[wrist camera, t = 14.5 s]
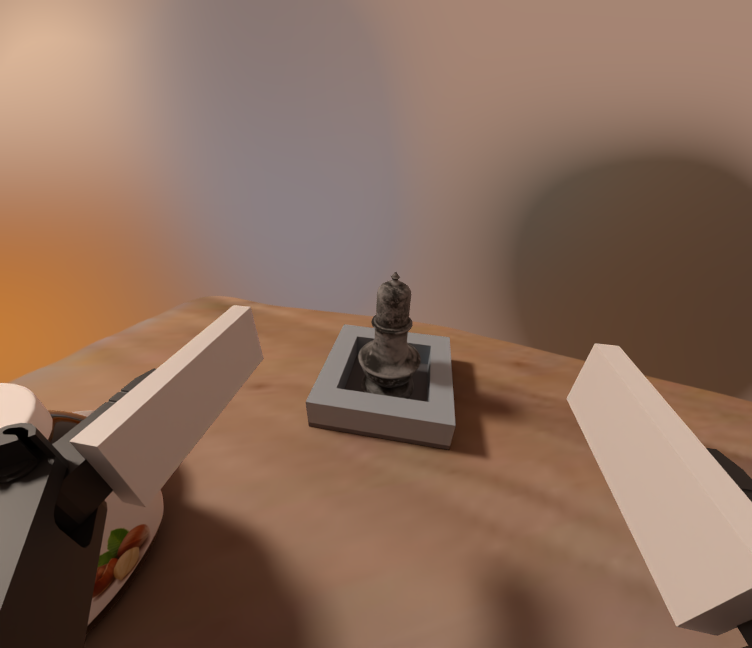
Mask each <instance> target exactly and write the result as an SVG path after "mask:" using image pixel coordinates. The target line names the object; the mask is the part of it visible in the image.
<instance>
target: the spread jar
mask: <svg viewBox="0 0 752 648" xmlns="http://www.w3.org/2000/svg"><path fill="white" fill-rule="evenodd" d="M93 412H94V411H78V412H65V411H54V410H47V409H46V408H45V406H44V405H43V404H42V403H41V402H40V400H39V399H38V398H37V397H36V395H35V394H34V393H33V392H32V391H30V390H29V389H28V388H26V387H23V386H20V385H16V384H6V383H0V428H2V427H4V426H7V425H12V424H17V423H31V424H32V425H34V426H35V427H36V428H37V429H38V430H39V431H40V432H41V433H42V434H43V435H44V436H45V438H46V439H47V440H48V441H49V442H50V443H51V444H53V443H55V442H56V441H58V440H59V439H60V438H61V437H63V436H64V435H65V434H66V433H68V432H69V431H70V430H71V429H73V428H74V427H75V426H76V425H78V424H79V423H80V422H81V421H83V420H84V419H85V418H86V417H88V416H89V415H90V414H91V413H93ZM105 501H106V502H107V509H108V510H107V516H106V521H105V527H104V533H103V539H102V545H101V550H100V556H99V562H98V568H97V573H96V579H95V585H94V591H93V597H92V602H91V608H90V614H89V620H88V625H87V631H86V634H87V633H88V632H89V631H90V630H92V629H93V628H94V627H95V626H96V625H97V624H98V622H99V621H100V620H101V619H102V618H103V617H104V616H105V615H106V614H107V613H108V612H109V611H110V610H111V608H112V607H113V606H114V605H115V604H116V602H117V601H118V600H119V599H120V598H121V596H122V595H123V593H124V592H125V591H126V589H127V588H128V587H129V585H130V584H131V582H132V581H133V579H134V578H135V576H136V575H137V573H138V571H139V570H140V568H141V566H142V565H143V563H144V561H145V559H146V557H147V555H148V553H149V551H150V549H151V547H152V544H153V542H154V540H155V538H156V536H157V533H158V531H159V528H160V524H161V520H162V516H163V510H164V504H163V496H162V492H161V490H160V491H159V492H158V493H157V494H156V496H155V497H154V498H153V499H152V501H151V502H150V503H149V505H148V506H147V507H142V506H138V505H133V504H129V503H124V502H122V501H121V500H120V499H119V497H118V496H117V495H116V494H115V493H114V492H113V491H112V492H111V493H110V494H109V496H108V497H107V498H106V499H105Z"/></svg>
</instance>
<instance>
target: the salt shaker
mask: <svg viewBox="0 0 752 648" xmlns="http://www.w3.org/2000/svg"><path fill="white" fill-rule="evenodd" d="M391 277H392V279H393V280H391V281H388V282H385V283H383V284H382V285H381V286H380V287H379V288H378V292H377V310H376V315H375V316H374V317H373V318H372V326H373V327H374V328H375V338H374V340H373V341H371V342H369V343H367V344H366V345H364V346H363V347H362V348H361V350H360V351H359V355H358V359H359V363H360V365H361V366H362V369H363V371H364V373H365V375H364V376H363V378H362V381H361V386H362V390H363V392H365V393H372V394H378V395H385V396H392V397H398V398H405V399H408V398H409V397H410V395H411V394H412V392H413V390H414V383H413V380H412V376H413V375H414V373H415V371H416V370H417V369H418V368H419V366H420V363H421V357H420V354H419V352H418V351H417V350H416V349H415V348H414V347H413V346H412V345H410V344H409V343H407V337H408V331H409V330H410V329H411V327H412V320H411V319H410V318H409V310H410V301H411V291H410V289H409V287H408V286H407V285H406V284H404V283H403V282H400V281H398V279H399V278H400V277H399V276H398V274H397V273H396V272H395V273H394V274H393V275H392V276H391Z"/></svg>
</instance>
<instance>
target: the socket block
mask: <svg viewBox="0 0 752 648" xmlns="http://www.w3.org/2000/svg"><path fill="white" fill-rule="evenodd" d="M374 338H375V328H368V327H360V326H352V325H344V326H343V328H342V330H341V332H340V334H339V336H338V338H337V340H336V342H335V344H334V346H333V348H332V350H331V352H330V354H329V356H328V358H327V360H326V362H325V364H324V366H323V368H322V370H321V372H320V374H319V376H318V378H317V380H316V382H315V384H314V386H313V388H312V390H311V392H310V394H309V396H308V398H307V400H306V408H307V415H308V423H309V426H312V427H318V428H323V429H329V430H335V431H341V432H347V433H353V434H359V435H365V436H371V437H377V438H382V439H388V440H394V441H400V442H406V443H412V444H418V445H424V446H430V447H435V448H441V449H447V450H449V448H450V444H451V441H452V437H453V433H454V430H455V426H456V425H455V411H454V396H453V381H452V366H451V352H450V337H442V336H434V335H425V334H417V333H409V332H408V337H407V343H409V344H410V345H412V346H413V347H414V348H415V349H416V350H417V351H418V352H419V354H420V357H421V363H420V366H419V368H418V369H417V370H416V371H415V373H414V375H413V376H412V380H413V383H414V390H413V392H412V394H411V395H410V397H409V398H408V399H405V398H398V397H392V396H385V395H378V394H372V393H365V392H363V390H362V386H361V381H362V378H363V376H364V375H365V373H364V371H363V369H362V366H361V365H360V363H359V359H358V355H359V351H360V350H361V348H362V347H363V346H364V345H366V344H367V343H369V342H371V341H373V340H374Z"/></svg>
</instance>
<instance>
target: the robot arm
mask: <svg viewBox="0 0 752 648" xmlns="http://www.w3.org/2000/svg"><path fill="white" fill-rule="evenodd" d="M263 359H264V358H263V354H262V350H261V346H260V342H259V338H258V334H257V331H256V327H255V323H254V319H253V315H252V311H251V307H245V306H236V305H233V306H232V307H231V308H230V309H229V310H227V311H226V312H225V313H224V314H223V315H221V316H220V317H219V318H218V319H217V320H215V321H214V322H213V323H212V324H210V325H209V326H208V327H207V328H206V329H204V330H203V331H202V332H201V333H200V334H198V335H197V336H196V337H195V338H194V339H192V340H191V341H190V342H189V343H187V344H186V345H185V346H184V347H183V348H181V349H180V350H179V351H178V352H177V353H175V354H174V355H173V356H172V357H171V358H169V359H168V360H167V361H166V362H164V363H163V364H162V365H161V366H160V367H158V368H157V369H152V370H150V371H148V372H146V373H144V374H142V375H141V376H139V377H137V378H135V379H134V380H133V381H131V382H130V383H129V384H128V385H126V386H125V387H124V388H123V389H121V392H118V393H116V394H115V395H114V396H113V397H111V398H110V399H109V401H108V402H105V403H104V404H103V405H101V406H100V407H99V408H98V409H96V410H95V411H94V412H93V413H91V414H90V415H89V416H88V417H86V418H85V419H84V420H83V421H81V422H80V423H79V424H78V425H76V426H75V427H74V428H73V429H71V430H70V431H69V432H68V433H66V434H65V435H64V436H63V437H61V438H60V439H59V440H58V441H56V442H55V443H53V444H51V443H50V442H49V441H48V440H47V439H46V438H45V436H44V435H43V434H42V433H41V432H40V431H39V430H38V429H37V428H36V427H35V426H34V425H32V424H31V423H17V424H12V425H7V426H4V427H2V428H0V648H84V643H85V637H86V631H87V625H88V620H89V614H90V608H91V602H92V597H93V591H94V585H95V579H96V573H97V568H98V562H99V556H100V550H101V545H102V539H103V533H104V527H105V521H106V516H107V510H108V509H107V502H106V501H105V499H106V498H107V497H108V496H109V494H110V493H111V492H112V491H113V492H114V493H115V494H116V495H117V496H118V497H119V499H120V500H121V501H122V502H124V503H129V504H133V505H138V506H142V507H147V506H148V505H149V503H150V502H151V501H152V499H153V498H154V497H155V496H156V494H157V493H158V492H159V491H160V489H161V488H162V487H163V486H164V484H165V483H166V482H167V480H168V479H169V478H170V477H171V475H172V474H173V473H174V472H175V470H176V469H177V468H178V467H179V465H180V464H181V463H182V461H183V460H184V459H185V458H186V456H187V455H188V454H189V453H190V451H191V450H192V449H193V447H194V446H195V445H196V444H197V442H198V441H199V440H200V439H201V437H202V436H203V435H204V434H205V432H206V431H207V430H208V428H209V427H210V426H211V425H212V423H213V422H214V421H215V420H216V418H217V417H218V416H219V414H220V413H221V412H222V411H223V409H224V408H225V407H226V406H227V404H228V403H229V402H230V401H231V399H232V398H233V397H234V395H235V394H236V393H237V392H238V390H239V389H240V388H241V387H242V385H243V384H244V383H245V381H246V380H247V379H248V378H249V376H250V375H251V374H252V373H253V371H254V370H255V369H256V368H257V366H258V365H259V364H260V362H261V361H262V360H263ZM567 401H568V403H569V405H570V407H571V409H572V411H573V413H574V415H575V417H576V419H577V421H578V423H579V425H580V428H581V430H582V432H583V434H584V436H585V438H586V440H587V442H588V444H589V446H590V448H591V450H592V452H593V454H594V457H595V459H596V461H597V463H598V465H599V467H600V469H601V471H602V473H603V475H604V477H605V479H606V481H607V483H608V486H609V488H610V490H611V492H612V494H613V496H614V498H615V500H616V502H617V504H618V506H619V508H620V510H621V512H622V515H623V517H624V519H625V521H626V523H627V525H628V527H629V529H630V531H631V533H632V535H633V537H634V539H635V541H636V544H637V546H638V548H639V550H640V552H641V554H642V556H643V558H644V560H645V562H646V564H647V566H648V568H649V570H650V573H651V575H652V577H653V579H654V581H655V583H656V585H657V587H658V589H659V591H660V593H661V595H662V597H663V599H664V602H665V604H666V606H667V608H668V610H669V612H670V614H671V616H672V618H673V620H674V622H675V624H676V626H677V627H681V628H686V629H690V630H695V631H699V632H703V633H708V634H712V635H717V636H718V635H720V634H722V633H725V632H727V631H729V630H732V629H734V628H737V627H738V629H739V630H740V632H741V634H742V635H743V637H744V639H745V640H746V642H747V644H748V645H749V646H746V647H743V648H752V479H751V478H750V477H749V476H748V475H747V474H746V473H745V472H744V470H743V469H741V468H740V467H739V466H737V465H736V464H735V463H734V462H732V461H731V460H730V459H728V458H727V457H726V456H724V455H723V454H722V453H721V452H719V451H718V450H717V449H710V448H705V447H704V445H703V444H702V443H701V442H700V441H699V440H698V438H697V437H696V436H695V435H694V434H693V433H692V431H691V430H690V429H689V428H688V427H687V425H686V424H685V423H684V422H683V421H682V420H681V418H680V417H679V416H678V415H677V414H676V413H675V411H674V410H673V409H672V408H671V407H670V405H669V404H668V403H667V402H666V401H665V400H664V398H663V397H662V396H661V395H660V394H659V393H658V391H657V390H656V389H655V388H654V387H653V386H652V384H651V383H650V382H649V381H648V380H647V378H646V377H645V376H644V375H643V374H642V373H641V371H640V370H639V369H638V368H637V367H636V366H635V364H634V363H633V362H632V361H631V360H630V359H629V357H628V356H627V355H626V354H625V353H624V352H623V350H622V349H621V348H620V347H619V346H614V345H603V344H594V346H593V348H592V350H591V352H590V354H589V356H588V358H587V360H586V362H585V364H584V366H583V368H582V370H581V372H580V373H579V375H578V377H577V379H576V381H575V383H574V385H573V387H572V389H571V391H570V393H569V395H568V397H567Z"/></svg>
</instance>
